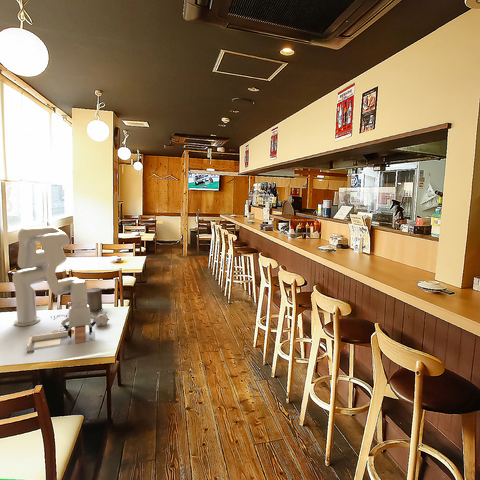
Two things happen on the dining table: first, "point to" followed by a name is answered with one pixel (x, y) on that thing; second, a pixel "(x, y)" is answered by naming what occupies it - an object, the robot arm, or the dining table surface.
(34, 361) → the dining table surface
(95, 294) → the pillar candle
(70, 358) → the dining table surface
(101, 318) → the grey spiky ball
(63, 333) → the board
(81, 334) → the block
